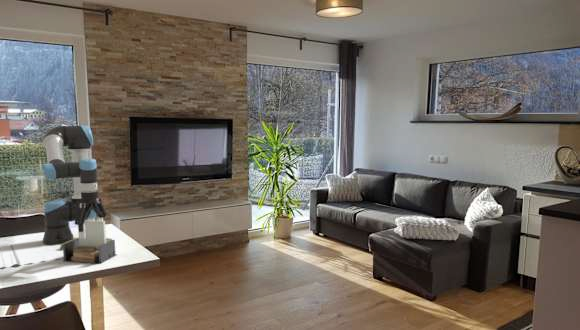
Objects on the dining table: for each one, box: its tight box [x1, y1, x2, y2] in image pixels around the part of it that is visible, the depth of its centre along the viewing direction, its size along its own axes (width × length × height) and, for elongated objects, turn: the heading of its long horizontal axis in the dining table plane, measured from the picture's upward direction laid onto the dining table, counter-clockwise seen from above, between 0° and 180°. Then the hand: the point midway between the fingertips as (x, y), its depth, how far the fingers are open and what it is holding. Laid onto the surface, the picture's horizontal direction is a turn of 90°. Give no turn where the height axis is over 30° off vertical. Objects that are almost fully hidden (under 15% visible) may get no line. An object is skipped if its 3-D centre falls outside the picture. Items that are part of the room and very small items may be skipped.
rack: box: [62, 237, 119, 265], centre depth 205 cm, size 14×20×10 cm
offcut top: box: [73, 246, 96, 254], centre depth 202 cm, size 4×9×2 cm, turn 78°
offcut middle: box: [73, 251, 99, 258], centre depth 202 cm, size 5×11×2 cm, turn 79°
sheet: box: [77, 219, 107, 251], centre depth 207 cm, size 1×14×18 cm, turn 78°
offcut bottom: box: [71, 256, 99, 263], centre depth 203 cm, size 5×12×2 cm, turn 78°
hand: (92, 234), depth 206 cm, fingers open, 13 cm apart
